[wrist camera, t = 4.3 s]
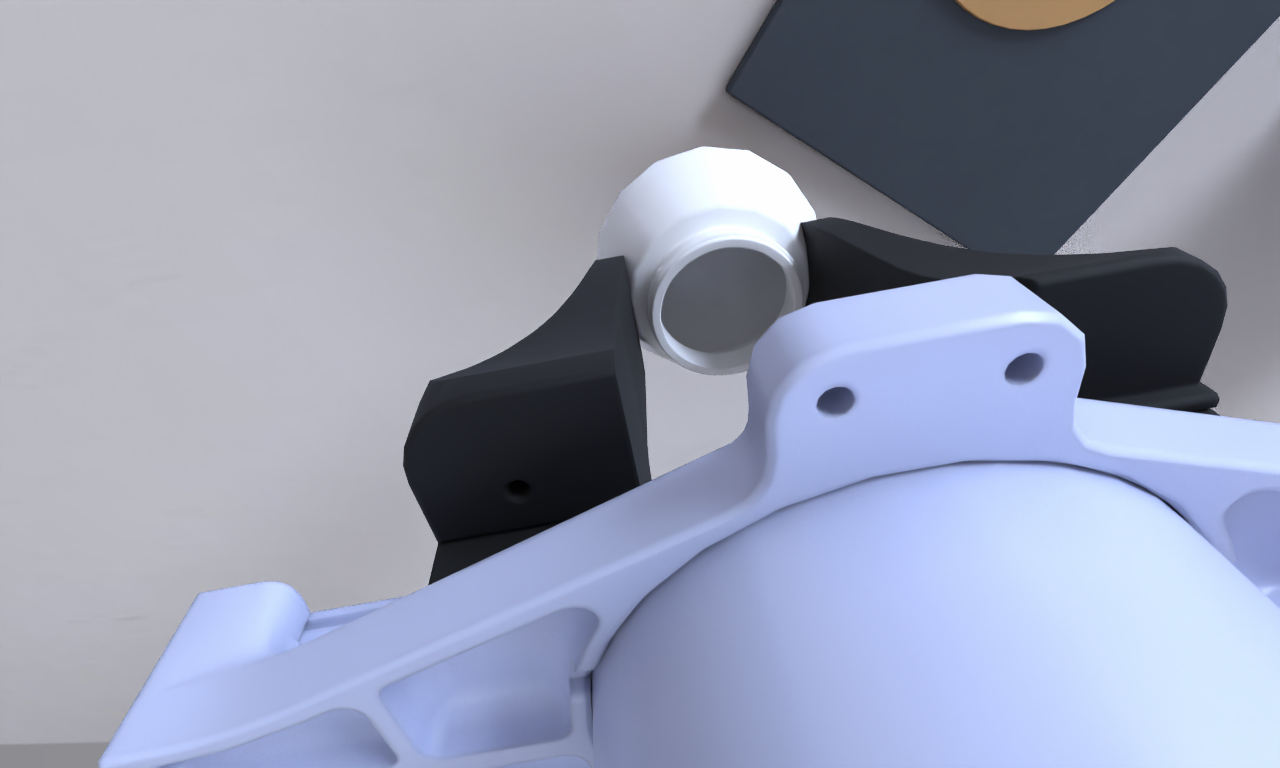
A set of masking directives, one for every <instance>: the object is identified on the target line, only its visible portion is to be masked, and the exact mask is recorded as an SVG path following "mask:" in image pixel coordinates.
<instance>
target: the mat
mask: <svg viewBox="0 0 1280 768" xmlns="http://www.w3.org/2000/svg"><path fill="white" fill-rule="evenodd" d="M1279 16H1280V0H777V1H776V3H775V5H774V6H773V8H772V10H771V12H770V13H769V15H768V17H767V18H766V20H765V22H764V24H763V25H762V27H761V29H760V30H759V32H758V34H757V35H756V37H755V39H754V41H753V42H752V44H751V46H750V47H749V49H748V51H747V52H746V54H745V56H744V58H743V59H742V61H741V63H740V64H739V66H738V68H737V69H736V71H735V73H734V75H733V76H732V78H731V80H730V81H729V83H728V85H727V87H726V89H725V90H726V92H727V93H729V94H730V95H731V96H733V97H734V98H736V99H737V100H739V101H741V102H742V103H744V104H745V105H747V106H748V107H750V108H751V109H753V110H754V111H756V112H758V113H759V114H761V115H762V116H764V117H765V118H767V119H768V120H770V121H771V122H773V123H775V124H776V125H778V126H779V127H781V128H782V129H784V130H785V131H787V132H788V133H790V134H792V135H793V136H795V137H796V138H798V139H799V140H801V141H802V142H804V143H805V144H807V145H808V146H810V147H812V148H813V149H815V150H816V151H818V152H819V153H821V154H822V155H824V156H825V157H827V158H829V159H830V160H832V161H833V162H835V163H836V164H838V165H839V166H841V167H842V168H844V169H846V170H847V171H849V172H850V173H852V174H853V175H855V176H856V177H858V178H859V179H861V180H863V181H864V182H866V183H867V184H869V185H870V186H872V187H873V188H875V189H876V190H878V191H879V192H881V193H883V194H884V195H886V196H887V197H889V198H890V199H892V200H893V201H895V202H896V203H898V204H900V205H901V206H903V207H904V208H906V209H907V210H909V211H910V212H912V213H913V214H915V215H917V216H918V217H920V218H921V219H923V220H924V221H926V222H927V223H929V224H930V225H932V226H934V227H935V228H937V229H938V230H940V231H941V232H943V233H944V234H946V235H947V236H949V237H951V238H952V239H954V240H955V241H957V242H958V243H960V244H961V245H963V246H964V247H966V248H967V249H971V250H978V251H986V252H997V253H1013V254H1033V255H1054V254H1055V253H1056V252H1057V251H1058V250H1059V249H1060V248H1061V247H1062V246H1063V244H1064V243H1065V242H1066V241H1067V240H1068V239H1069V238H1070V237H1071V236H1072V235H1073V234H1074V233H1075V232H1076V231H1077V230H1078V229H1079V228H1080V226H1081V225H1082V224H1083V223H1084V222H1085V221H1086V220H1087V219H1088V218H1089V217H1090V216H1091V215H1092V214H1093V213H1094V212H1095V211H1096V210H1097V209H1098V207H1099V206H1100V205H1101V204H1102V203H1103V202H1104V201H1105V200H1106V199H1107V198H1108V197H1109V196H1110V195H1111V194H1112V193H1113V192H1114V191H1115V189H1116V188H1117V187H1118V186H1119V185H1120V184H1121V183H1122V182H1123V181H1124V180H1125V179H1126V178H1127V177H1128V176H1129V175H1130V174H1131V173H1132V172H1133V170H1134V169H1135V168H1136V167H1137V166H1138V165H1139V164H1140V163H1141V162H1142V161H1143V160H1144V159H1145V158H1146V157H1147V156H1148V155H1149V154H1150V152H1151V151H1152V150H1153V149H1154V148H1155V147H1156V146H1157V145H1158V144H1159V143H1160V142H1161V141H1162V140H1163V139H1164V138H1165V137H1166V136H1167V135H1168V133H1169V132H1170V131H1171V130H1172V129H1173V128H1174V127H1175V126H1176V125H1177V124H1178V123H1179V122H1180V121H1181V120H1182V119H1183V118H1184V117H1185V115H1186V114H1187V113H1188V112H1189V111H1190V110H1191V109H1192V108H1193V107H1194V106H1195V105H1196V104H1197V103H1198V102H1199V101H1200V100H1201V99H1202V97H1203V96H1204V95H1205V94H1206V93H1207V92H1208V91H1209V90H1210V89H1211V88H1212V87H1213V86H1214V85H1215V84H1216V83H1217V82H1218V81H1219V80H1220V78H1221V77H1222V76H1223V75H1224V74H1225V73H1226V72H1227V71H1228V70H1229V69H1230V68H1231V67H1232V66H1233V65H1234V64H1235V63H1236V62H1237V60H1238V59H1239V58H1240V57H1241V56H1242V55H1243V54H1244V53H1245V52H1246V51H1247V50H1248V49H1249V48H1250V47H1251V46H1252V45H1253V44H1254V43H1255V41H1256V40H1257V39H1258V38H1259V37H1260V36H1261V35H1262V34H1263V33H1264V32H1265V31H1266V30H1267V29H1268V28H1269V27H1270V26H1271V25H1272V23H1273V22H1274V21H1275V20H1276V19H1277V18H1278V17H1279Z"/></svg>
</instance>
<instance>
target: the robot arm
mask: <svg viewBox="0 0 1280 768" xmlns="http://www.w3.org/2000/svg"><path fill="white" fill-rule="evenodd" d="M801 227H802V231H803V235H804V239H805V243H806V247H807V256H808V269H809V292H808V296H807V300H806V305H805V307H804V308H801V309H799V310H797V311H794V312H792V313H789V314H787V315H785V316H782V317H780V318H778V319H777V320H776V321H775V323H774V324H773V325H772V326H771V327H770V328H769V329H768V330H767V331H766V332H765V334H764V335H763V336H762V337H761V338H760V339H759V340H758V341H757V342H756V343H755V345H754V346H753V351H752V355H751V359H750V364H749V368H748V372H747V389H748V401H749V413H748V422H747V425H746V427H745V430H744V431H743V433H742V434H741V435H740V436H739V437H738V438H737V439H736V440H735V441H733V442H732V443H730V444H728V445H726V446H724V447H722V448H719V449H717V450H715V451H713V452H711V453H709V454H707V455H705V456H702V457H700V458H698V459H696V460H694V461H692V462H690V463H688V464H685V465H683V466H681V467H679V468H677V469H675V470H673V471H671V472H668V473H666V474H664V475H662V476H660V477H658V478H656V479H654V480H651V473H650V467H649V459H648V447H647V418H646V387H645V370H644V364H643V358H642V352H641V346H640V340H639V335H638V331H637V325H636V320H635V315H634V309H633V304H632V299H631V293H630V288H629V282H628V276H627V271H626V265H625V260H624V255H623V256H616V257H611V258H605V259H600V260H595V262H594V263H593V265H592V266H591V267H590V269H589V270H588V272H587V273H586V275H585V276H584V278H583V279H582V281H581V282H580V284H579V285H578V287H577V288H576V289H575V291H574V292H573V293H572V295H571V296H570V297H569V298H568V299H567V300H566V302H565V303H564V304H563V305H562V306H561V307H560V308H559V310H558V311H557V312H556V313H555V314H554V315H553V316H552V317H551V318H550V319H548V320H547V321H546V322H545V323H544V324H543V325H541V326H540V327H539V328H538V329H537V330H535V331H534V332H533V333H531V334H530V335H529V336H527V337H525V338H524V339H522V340H521V341H519V342H518V343H516V344H515V345H513V346H512V347H510V348H509V349H507V350H505V351H503V352H501V353H499V354H498V355H496V356H494V357H492V358H490V359H487V360H485V361H483V362H481V363H479V364H476V365H474V366H472V367H469V368H467V369H464V370H461V371H458V372H455V373H452V374H449V375H446V376H443V377H440V378H437V379H434V380H430V382H429V384H428V386H427V388H426V390H425V392H424V394H423V397H422V399H421V401H420V403H419V406H418V409H417V412H416V414H415V417H414V420H413V423H412V426H411V429H410V432H409V434H408V437H407V440H406V443H405V446H404V460H403V467H404V470H405V473H406V476H407V480H408V483H409V485H410V487H411V489H412V491H413V493H414V495H415V497H416V499H417V501H418V503H419V505H420V507H421V509H422V511H423V513H424V515H425V517H426V519H427V521H428V523H429V525H430V527H431V529H432V531H433V533H434V535H435V537H436V539H437V541H438V547H437V551H436V555H435V559H434V563H433V568H432V572H431V576H430V580H429V584H428V586H426V587H424V588H422V589H420V590H418V591H416V592H414V593H411V594H409V595H407V596H405V597H399V598H393V599H387V600H381V601H376V602H370V603H364V604H358V605H352V606H347V607H341V608H335V609H329V610H323V611H318V612H312V613H310V611H309V609H308V607H307V605H306V603H305V601H304V599H303V598H302V597H301V595H300V594H299V593H298V592H297V591H296V590H295V589H293V588H292V587H291V586H290V585H287V584H284V583H281V582H278V581H265V582H260V583H254V584H248V585H242V586H237V587H231V588H225V589H219V590H214V591H208V592H202V593H199V594H198V595H197V596H196V598H195V600H194V601H193V603H192V605H191V607H190V608H189V610H188V612H187V613H186V615H185V617H184V618H183V620H182V622H181V623H180V625H179V627H178V628H177V630H176V632H175V633H174V635H173V637H172V638H171V640H170V642H169V644H168V645H167V647H166V649H165V650H164V652H163V654H162V655H161V657H160V659H159V660H158V662H157V664H156V665H155V667H154V669H153V670H152V672H151V674H150V675H149V677H148V679H147V680H146V682H145V684H144V686H143V687H142V689H141V691H140V692H139V694H138V696H137V697H136V699H135V701H134V702H133V704H132V706H131V707H130V709H129V711H128V712H127V714H126V716H125V717H124V719H123V721H122V723H121V724H120V726H119V728H118V729H117V731H116V733H115V734H114V736H113V738H112V739H111V741H110V743H109V744H108V746H107V748H106V749H105V751H104V753H103V754H102V756H101V758H100V760H99V761H98V766H99V768H1280V424H1279V423H1271V422H1263V421H1255V420H1248V419H1240V418H1232V417H1224V416H1220V415H1219V414H1217V413H1216V412H1215V411H1213V410H1212V409H1210V408H1212V407H1217V404H1218V402H1219V397H1218V394H1217V393H1216V392H1214V391H1213V390H1212V389H1210V388H1209V387H1207V386H1206V385H1204V384H1203V383H1201V382H1200V379H1201V377H1202V375H1203V372H1204V370H1205V367H1206V365H1207V362H1208V360H1209V357H1210V355H1211V353H1212V350H1213V348H1214V345H1215V343H1216V340H1217V338H1218V336H1219V333H1220V331H1221V328H1222V324H1223V320H1224V316H1225V313H1226V309H1227V293H1226V286H1225V284H1224V282H1223V280H1222V278H1221V276H1220V275H1219V273H1218V271H1217V270H1215V269H1214V268H1212V267H1211V266H1210V265H1208V264H1207V263H1205V262H1204V261H1202V260H1200V259H1198V258H1196V257H1194V256H1192V255H1190V254H1188V253H1186V252H1184V251H1182V250H1180V249H1178V248H1175V247H1168V248H1157V249H1147V250H1136V251H1125V252H1114V253H1101V254H1072V255H1033V254H1013V253H997V252H986V251H978V250H971V249H964V248H957V247H950V246H945V245H940V244H935V243H931V242H926V241H922V240H917V239H913V238H909V237H905V236H901V235H898V234H894V233H891V232H887V231H884V230H880V229H877V228H873V227H870V226H867V225H863V224H860V223H856V222H852V221H848V220H844V219H840V218H831V217H829V218H824V219H818V220H813V221H807V222H802V223H801Z"/></svg>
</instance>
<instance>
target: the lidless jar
mask: <svg viewBox="0 0 1280 768" xmlns="http://www.w3.org/2000/svg"><path fill="white" fill-rule="evenodd" d="M813 220H816V215H815V211H814V210H813V208H812V207H811V205H810V204H809V202H808V201H807V200H806V198H805V197H804V195H803V194H802V192H801V191H800V189H799V188H798V186H797V185H796V183H795V182H794V180H793V179H792V177H791V176H790V175H789V174H788V173H787V172H785V171H784V170H782V169H780V168H778V167H777V166H775V165H773V164H771V163H770V162H768V161H766V160H764V159H763V158H761V157H759V156H757V155H756V154H754V153H752V152H751V151H749V150H738V149H726V148H715V147H703V146H702V147H699V148H696V149H693V150H690V151H687V152H683V153H680V154H677V155H674V156H671V157H668V158H665V159H662V160H659V161H656V162H655V163H654V164H653V165H651V166H650V167H649V168H648V169H647V170H646V171H644V172H643V173H642V174H641V175H640V176H638V177H637V178H636V179H635V180H634V181H633V182H631V183H630V184H629V185H628V186H627V187H626V188H624V189H623V190H622V191H621V192H620V193H619V195H618V197H617V199H616V201H615V203H614V205H613V207H612V208H611V210H610V212H609V214H608V216H607V218H606V220H605V222H604V224H603V226H602V228H601V230H600V232H599V241H598V255H597V260H600V259H605V258H611V257H616V256H623V255H624V260H625V265H626V271H627V276H628V282H629V288H630V293H631V299H632V304H633V309H634V315H635V320H636V325H637V331H638V335H639V340H640V346H641V347H642V348H644V349H646V350H648V351H650V352H652V353H654V354H656V355H658V356H661V357H663V358H665V359H668V360H670V361H672V362H675V363H677V364H679V365H681V366H683V367H685V368H687V369H689V370H691V371H694V372H697V373H701V374H707V375H730V374H736V373H740V372H744V371H747V370H748V368H749V364H750V359H751V355H752V351H753V346H754V345H755V343H756V342H757V341H758V340H759V339H760V338H761V337H762V336H763V335H764V334H765V332H766V331H767V330H768V329H769V328H770V327H771V326H772V325H773V324H774V323H775V321H776V320H777V319H778V318H780V317H782V316H785V315H787V314H789V313H792V312H794V311H797V310H799V309H801V308H804V307H805V305H806V300H807V296H808V292H809V269H808V256H807V247H806V243H805V239H804V235H803V231H802V227H801V223H802V222H807V221H813Z"/></svg>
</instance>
